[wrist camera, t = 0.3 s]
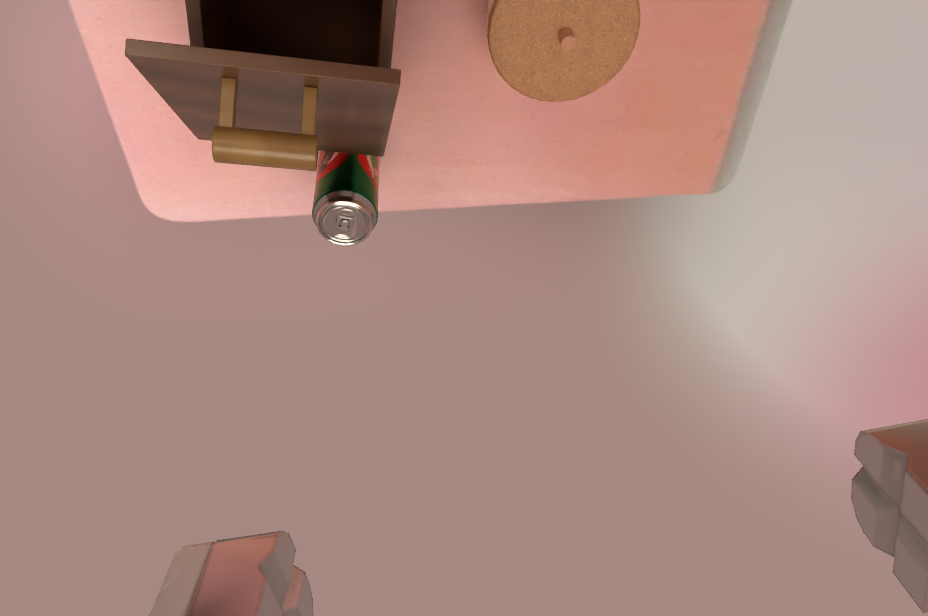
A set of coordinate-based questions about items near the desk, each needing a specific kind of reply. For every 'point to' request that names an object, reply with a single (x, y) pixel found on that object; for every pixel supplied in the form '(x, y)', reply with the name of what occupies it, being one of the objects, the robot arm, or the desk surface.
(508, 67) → the trinket box
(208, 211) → the desk surface
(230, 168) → the desk surface
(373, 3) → the chest
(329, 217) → the soda can
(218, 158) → the lid
